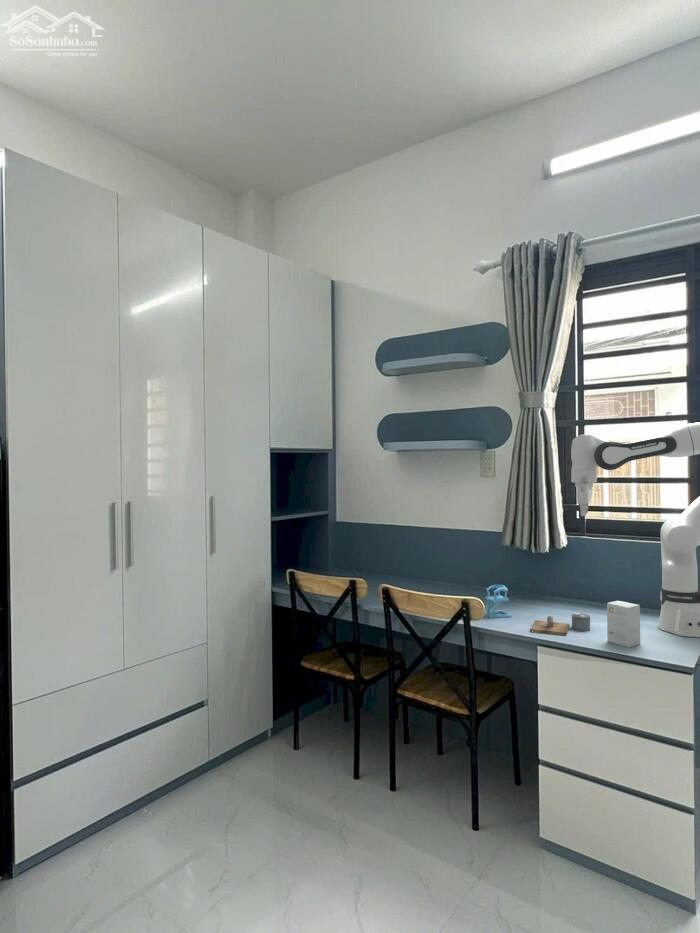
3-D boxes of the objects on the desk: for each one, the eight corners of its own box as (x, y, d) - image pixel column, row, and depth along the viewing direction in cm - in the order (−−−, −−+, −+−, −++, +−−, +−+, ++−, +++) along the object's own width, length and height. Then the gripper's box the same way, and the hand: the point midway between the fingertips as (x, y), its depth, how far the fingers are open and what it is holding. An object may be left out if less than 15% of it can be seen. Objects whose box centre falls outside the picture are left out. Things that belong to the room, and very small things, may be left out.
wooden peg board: (569, 626, 214) (569, 614, 214) (566, 635, 203) (566, 622, 203) (535, 622, 219) (535, 610, 219) (530, 631, 209) (530, 619, 209)
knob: (590, 627, 213) (590, 612, 213) (589, 631, 208) (589, 616, 208) (572, 625, 216) (572, 610, 216) (571, 629, 210) (571, 614, 210)
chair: (482, 614, 233) (482, 584, 233) (501, 612, 235) (500, 582, 235) (493, 619, 225) (492, 588, 225) (512, 617, 228) (511, 586, 228)
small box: (640, 644, 193) (640, 604, 193) (629, 647, 190) (629, 607, 190) (618, 638, 200) (617, 599, 200) (606, 641, 197) (606, 602, 196)
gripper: (591, 478, 208) (591, 517, 208) (594, 476, 226) (595, 512, 227) (572, 478, 211) (572, 517, 211) (577, 476, 229) (577, 512, 229)
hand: (584, 514), depth 219 cm, fingers open, 8 cm apart
